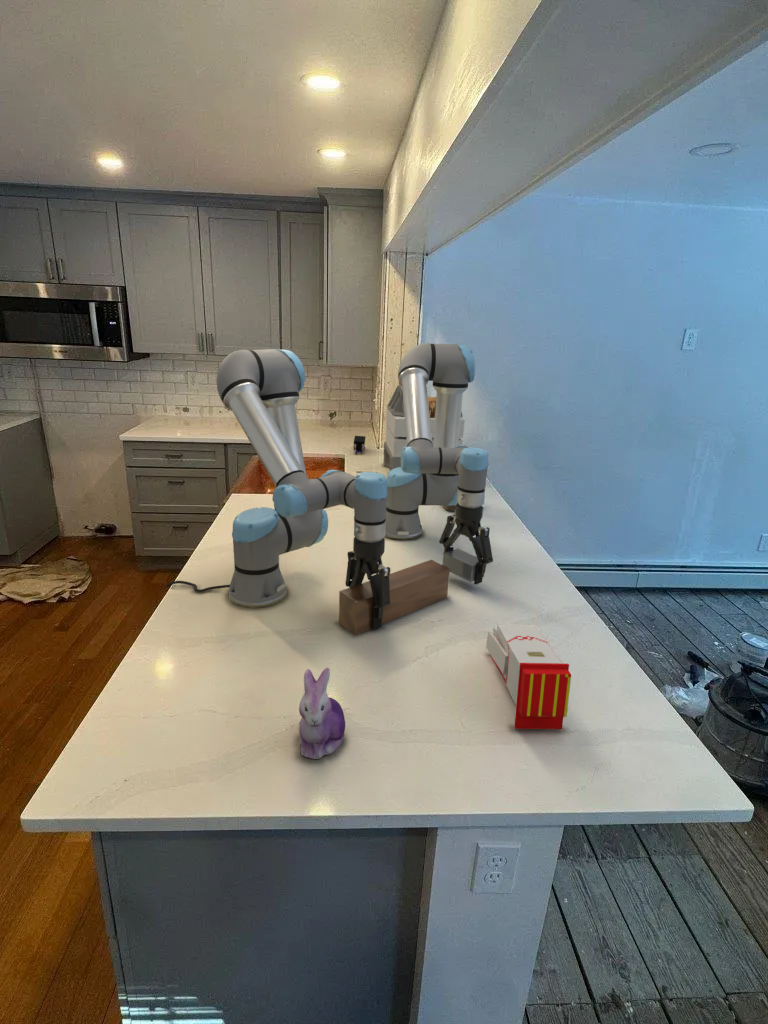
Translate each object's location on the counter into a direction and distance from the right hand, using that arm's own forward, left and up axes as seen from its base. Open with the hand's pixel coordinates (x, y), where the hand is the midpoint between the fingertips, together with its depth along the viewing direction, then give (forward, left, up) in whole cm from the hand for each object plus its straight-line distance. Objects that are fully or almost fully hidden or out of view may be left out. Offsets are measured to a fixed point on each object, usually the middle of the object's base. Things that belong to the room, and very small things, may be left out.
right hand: (462, 575), depth 165 cm
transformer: (-92, +72, -3) cm, 116 cm away
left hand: (0, -36, -2) cm, 36 cm away
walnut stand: (0, -26, -3) cm, 26 cm away
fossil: (-50, +52, -3) cm, 72 cm away
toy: (+40, -26, -3) cm, 48 cm away
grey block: (0, 0, +1) cm, 1 cm away
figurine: (+28, -69, -3) cm, 75 cm away
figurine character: (-141, +73, -3) cm, 159 cm away
